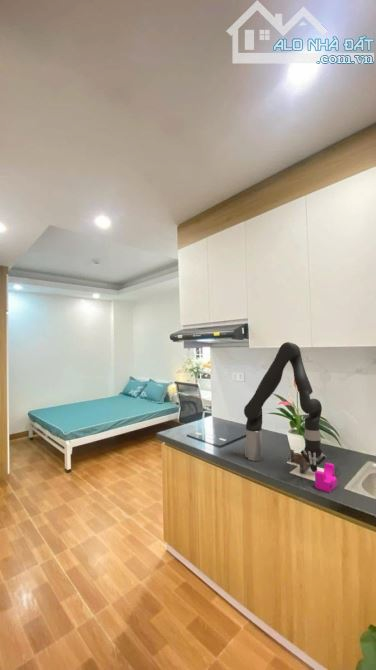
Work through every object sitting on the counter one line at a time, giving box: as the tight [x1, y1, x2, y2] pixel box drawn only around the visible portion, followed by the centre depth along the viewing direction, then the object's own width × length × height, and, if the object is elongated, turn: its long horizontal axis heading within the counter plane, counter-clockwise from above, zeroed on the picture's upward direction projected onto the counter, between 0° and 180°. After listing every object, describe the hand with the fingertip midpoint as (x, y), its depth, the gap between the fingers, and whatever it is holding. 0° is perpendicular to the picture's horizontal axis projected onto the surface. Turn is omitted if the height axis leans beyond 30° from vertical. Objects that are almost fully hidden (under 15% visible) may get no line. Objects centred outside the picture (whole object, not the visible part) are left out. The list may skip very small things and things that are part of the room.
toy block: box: [314, 461, 338, 493], centre depth 134 cm, size 15×6×8 cm, turn 135°
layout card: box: [286, 459, 324, 482], centre depth 149 cm, size 22×16×1 cm
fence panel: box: [300, 459, 309, 473], centre depth 148 cm, size 9×2×6 cm, turn 135°
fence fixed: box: [290, 449, 311, 467], centre depth 155 cm, size 11×2×7 cm, turn 44°
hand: (314, 471), depth 144 cm, fingers closed
